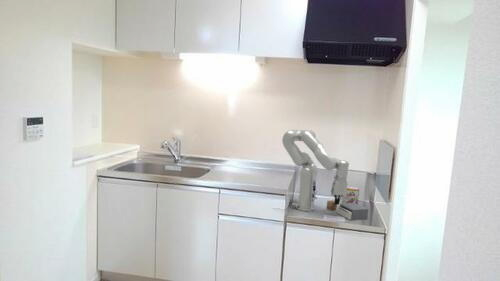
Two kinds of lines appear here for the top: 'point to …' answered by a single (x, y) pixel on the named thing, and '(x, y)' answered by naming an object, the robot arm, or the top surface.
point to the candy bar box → (351, 195)
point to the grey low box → (356, 210)
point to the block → (331, 205)
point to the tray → (344, 212)
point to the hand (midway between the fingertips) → (336, 203)
